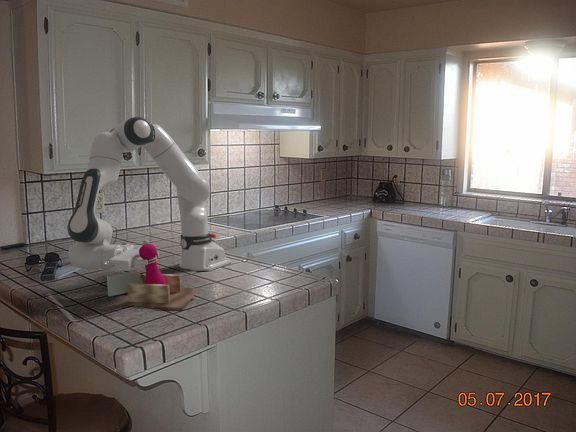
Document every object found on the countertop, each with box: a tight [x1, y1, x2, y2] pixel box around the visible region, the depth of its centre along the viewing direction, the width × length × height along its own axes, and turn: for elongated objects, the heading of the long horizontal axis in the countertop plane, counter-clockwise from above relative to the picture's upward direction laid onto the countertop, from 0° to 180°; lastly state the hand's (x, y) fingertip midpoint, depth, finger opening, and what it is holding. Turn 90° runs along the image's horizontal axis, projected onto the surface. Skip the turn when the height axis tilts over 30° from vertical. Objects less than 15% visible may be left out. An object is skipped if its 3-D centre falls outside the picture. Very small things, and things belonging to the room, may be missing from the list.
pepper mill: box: [139, 239, 166, 284], centre depth 180 cm, size 7×7×20 cm
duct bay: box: [112, 273, 202, 311], centre depth 183 cm, size 24×20×7 cm
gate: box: [106, 269, 142, 297], centre depth 186 cm, size 2×12×7 cm, turn 127°
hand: (153, 258), depth 181 cm, fingers open, 8 cm apart
